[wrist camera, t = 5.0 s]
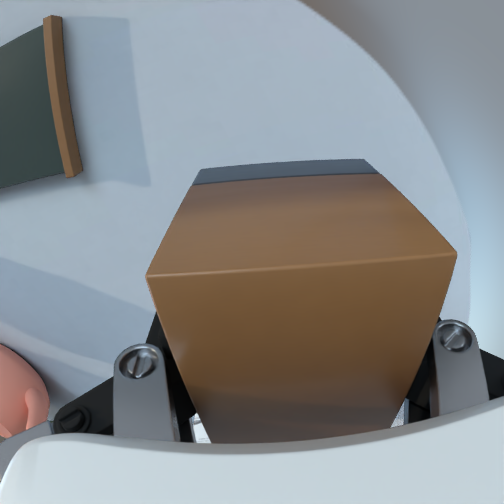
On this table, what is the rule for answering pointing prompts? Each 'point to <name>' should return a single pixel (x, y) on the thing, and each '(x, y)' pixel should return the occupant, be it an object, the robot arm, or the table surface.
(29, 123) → the slate board
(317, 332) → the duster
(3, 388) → the teapot
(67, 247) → the table surface
